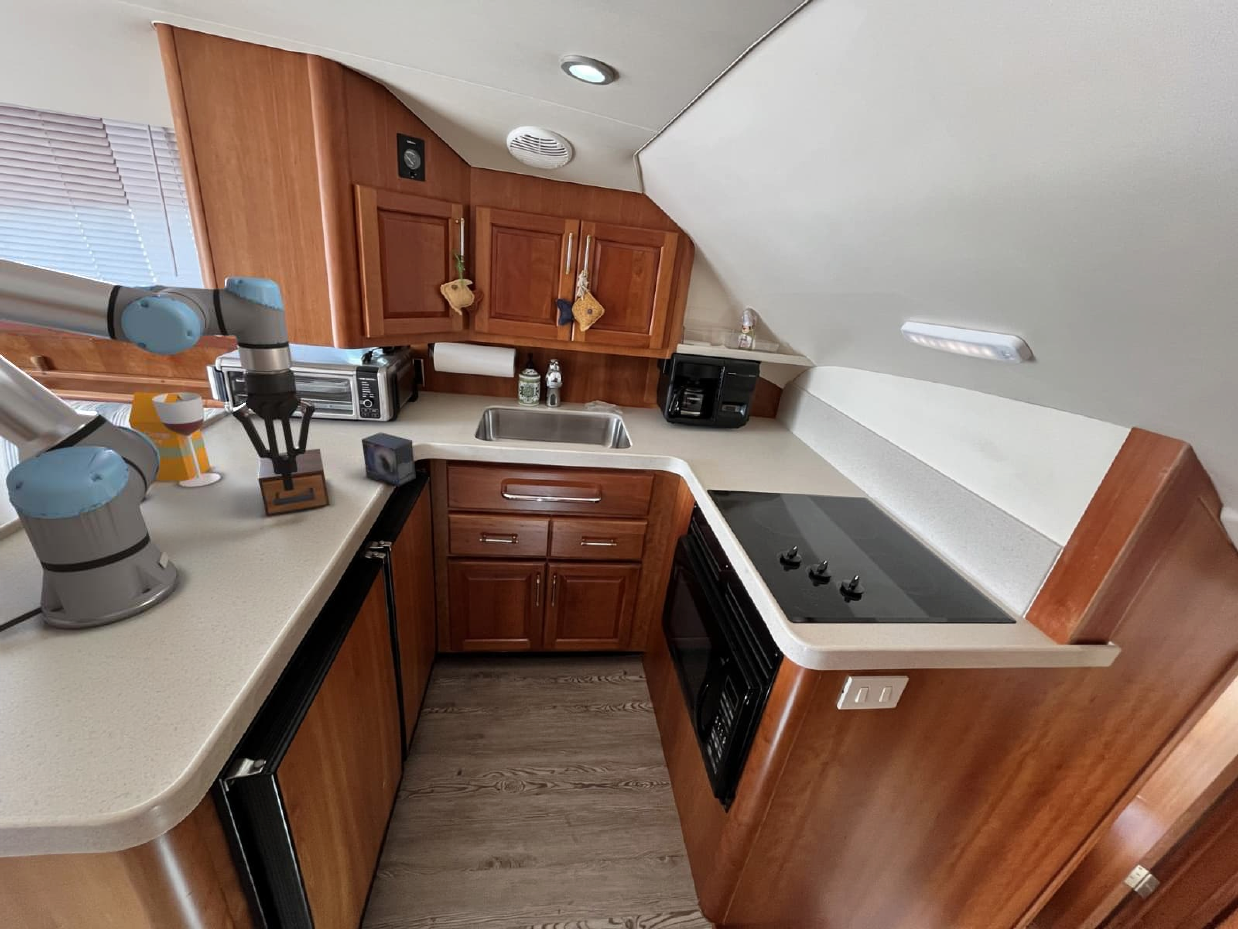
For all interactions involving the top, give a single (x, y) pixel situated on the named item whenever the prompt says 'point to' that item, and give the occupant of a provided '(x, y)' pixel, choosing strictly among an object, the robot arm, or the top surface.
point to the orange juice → (168, 440)
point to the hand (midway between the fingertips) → (289, 487)
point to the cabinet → (306, 466)
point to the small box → (389, 458)
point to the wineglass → (185, 427)
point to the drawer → (294, 494)
